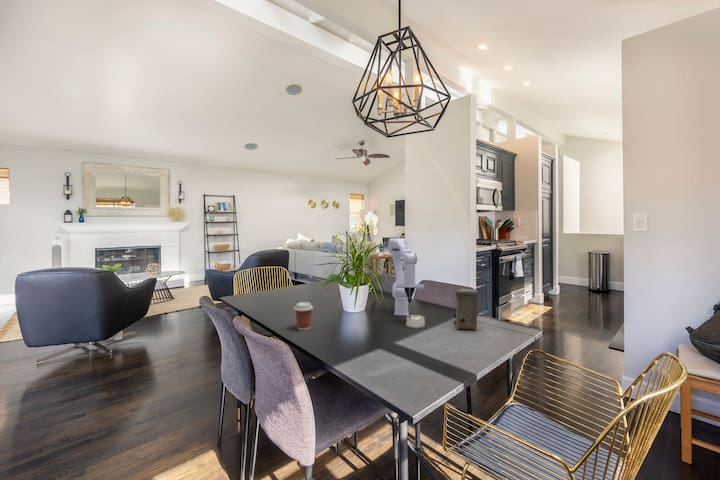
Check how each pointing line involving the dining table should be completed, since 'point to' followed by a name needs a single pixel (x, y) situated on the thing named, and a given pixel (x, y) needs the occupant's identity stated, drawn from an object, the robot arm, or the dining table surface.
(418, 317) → the beige short cylinder
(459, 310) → the vintage camera
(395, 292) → the robot arm
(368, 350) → the dining table surface
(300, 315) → the coffee cup
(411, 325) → the lens barrel
